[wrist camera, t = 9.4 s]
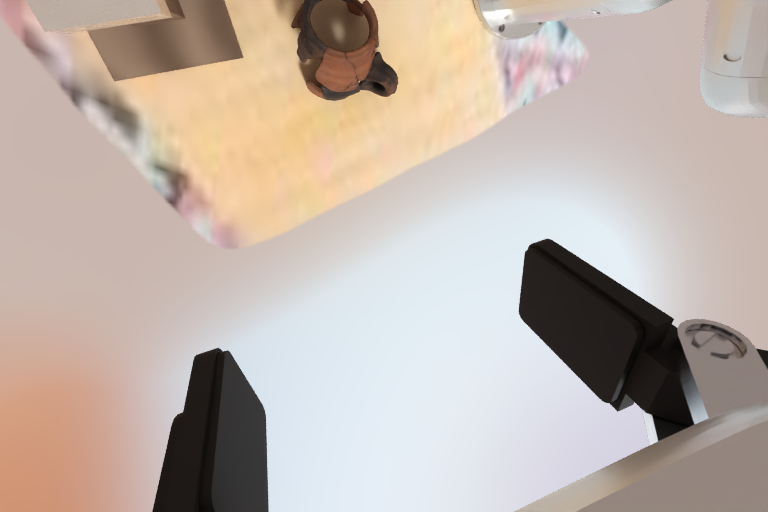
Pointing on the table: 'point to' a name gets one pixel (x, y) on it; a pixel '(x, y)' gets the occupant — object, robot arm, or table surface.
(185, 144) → the table surface
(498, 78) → the table surface
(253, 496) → the robot arm
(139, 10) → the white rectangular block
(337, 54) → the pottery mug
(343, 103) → the table surface
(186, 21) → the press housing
